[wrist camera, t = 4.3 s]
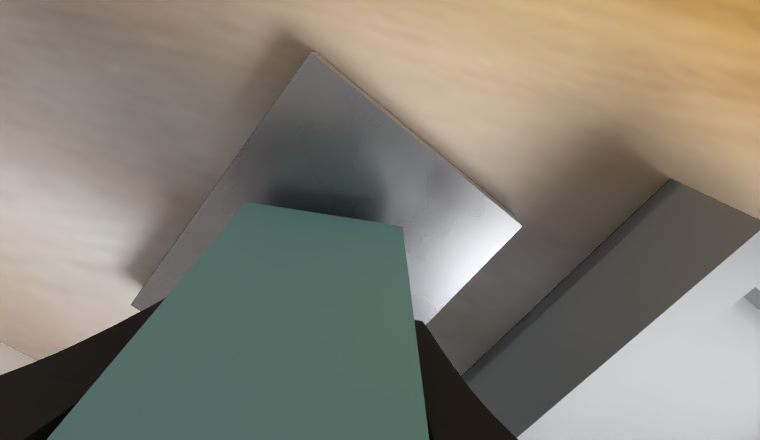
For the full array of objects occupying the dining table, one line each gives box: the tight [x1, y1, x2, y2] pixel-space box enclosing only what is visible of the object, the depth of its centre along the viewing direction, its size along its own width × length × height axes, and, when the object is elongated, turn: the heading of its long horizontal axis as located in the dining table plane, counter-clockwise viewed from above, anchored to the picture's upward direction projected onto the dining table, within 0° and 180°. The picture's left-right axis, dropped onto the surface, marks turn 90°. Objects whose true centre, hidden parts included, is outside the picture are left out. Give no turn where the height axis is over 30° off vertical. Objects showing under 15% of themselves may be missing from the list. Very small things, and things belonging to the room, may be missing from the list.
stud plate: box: [131, 51, 522, 325], centre depth 15 cm, size 10×8×3 cm
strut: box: [47, 202, 429, 440], centre depth 10 cm, size 4×4×9 cm
